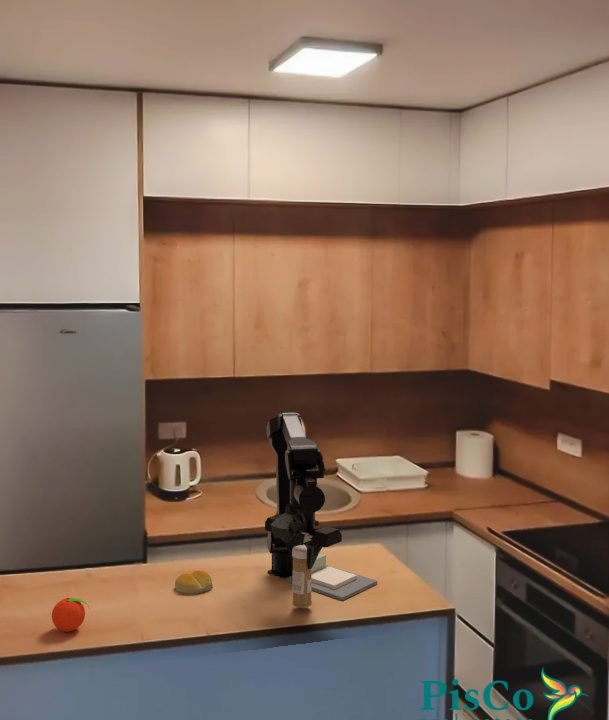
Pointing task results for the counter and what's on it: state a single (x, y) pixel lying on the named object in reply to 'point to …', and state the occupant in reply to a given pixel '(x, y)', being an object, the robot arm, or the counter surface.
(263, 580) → the counter surface
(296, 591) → the sprinkles bottle
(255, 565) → the counter surface
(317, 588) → the board
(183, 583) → the bread roll
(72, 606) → the clementine
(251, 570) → the counter surface
